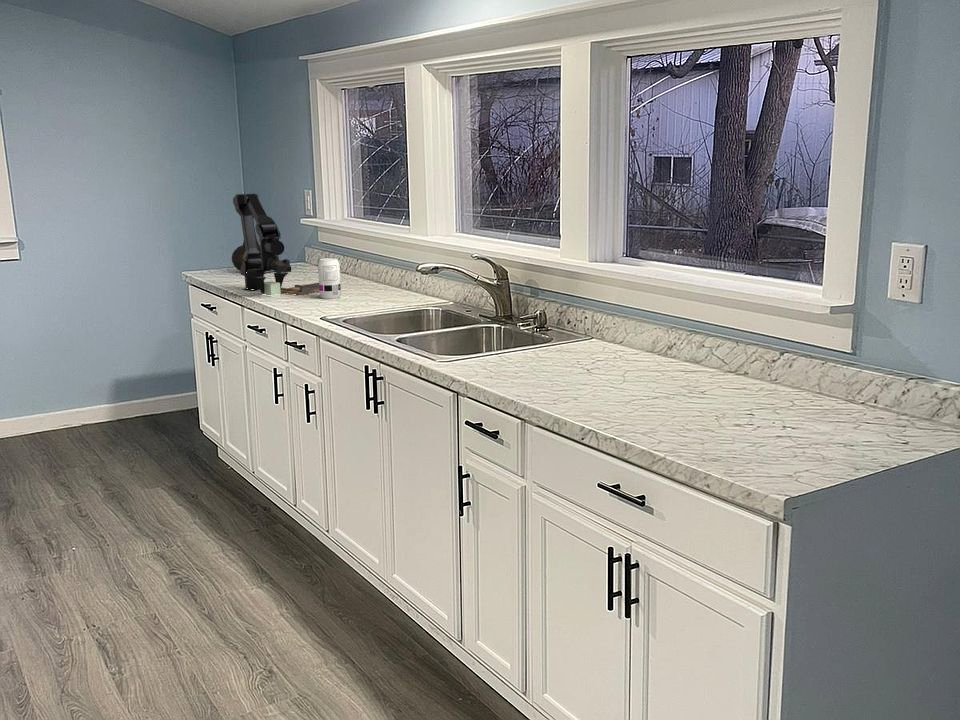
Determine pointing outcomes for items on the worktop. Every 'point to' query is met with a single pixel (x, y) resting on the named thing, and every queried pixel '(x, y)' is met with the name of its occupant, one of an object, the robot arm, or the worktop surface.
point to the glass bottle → (242, 253)
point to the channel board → (302, 289)
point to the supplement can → (329, 278)
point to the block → (272, 288)
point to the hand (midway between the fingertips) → (271, 292)
